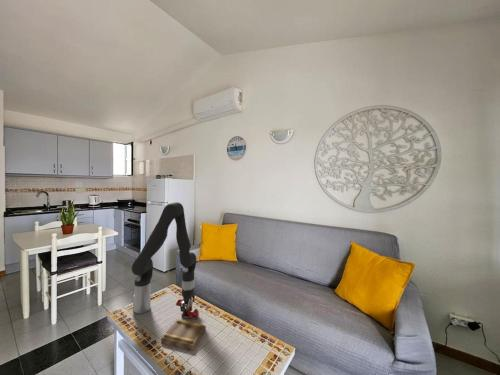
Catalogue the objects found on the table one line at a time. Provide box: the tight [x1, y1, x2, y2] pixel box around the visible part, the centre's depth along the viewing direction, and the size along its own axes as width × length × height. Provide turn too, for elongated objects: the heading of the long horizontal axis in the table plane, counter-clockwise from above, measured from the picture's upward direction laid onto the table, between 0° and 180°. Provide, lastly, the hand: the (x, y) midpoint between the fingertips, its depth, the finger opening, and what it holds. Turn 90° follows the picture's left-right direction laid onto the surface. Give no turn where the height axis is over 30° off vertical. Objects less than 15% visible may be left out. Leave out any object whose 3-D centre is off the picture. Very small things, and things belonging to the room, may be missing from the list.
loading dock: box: [160, 319, 207, 352], centre depth 110 cm, size 18×14×4 cm
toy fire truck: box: [175, 298, 200, 320], centre depth 126 cm, size 3×14×10 cm, turn 84°
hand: (187, 313), depth 126 cm, fingers open, 5 cm apart
